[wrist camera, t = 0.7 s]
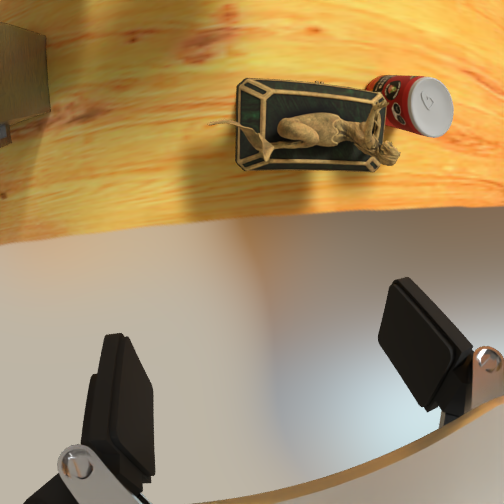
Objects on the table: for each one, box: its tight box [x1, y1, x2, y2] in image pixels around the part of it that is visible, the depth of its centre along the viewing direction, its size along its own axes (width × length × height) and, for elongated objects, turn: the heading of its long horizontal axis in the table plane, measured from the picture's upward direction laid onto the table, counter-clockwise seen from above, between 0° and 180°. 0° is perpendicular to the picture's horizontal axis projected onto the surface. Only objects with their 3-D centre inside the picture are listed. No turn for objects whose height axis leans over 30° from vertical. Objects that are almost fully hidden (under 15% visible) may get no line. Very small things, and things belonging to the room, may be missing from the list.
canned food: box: [366, 75, 453, 138], centre depth 35 cm, size 8×8×11 cm
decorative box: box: [207, 78, 400, 172], centre depth 30 cm, size 20×10×20 cm, turn 89°
